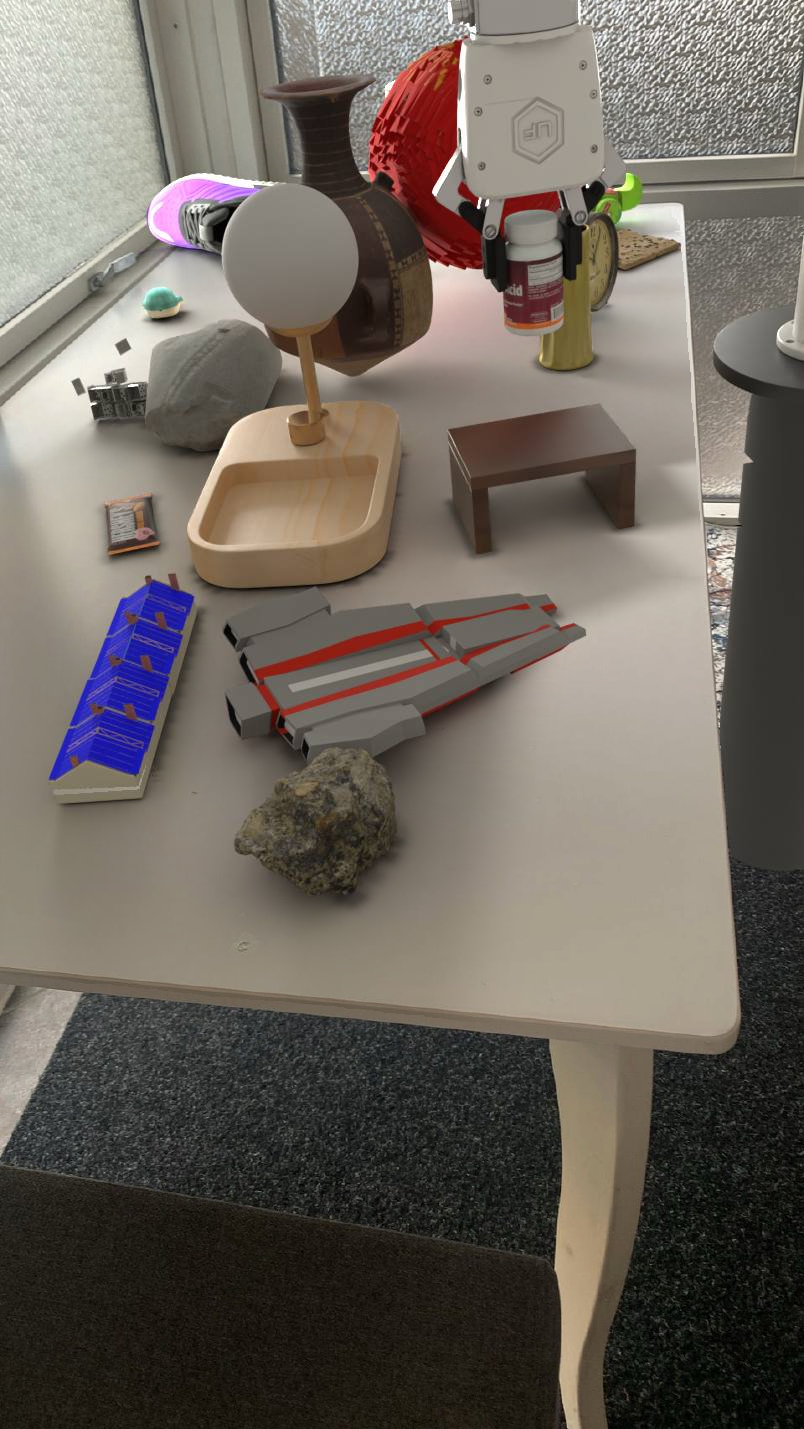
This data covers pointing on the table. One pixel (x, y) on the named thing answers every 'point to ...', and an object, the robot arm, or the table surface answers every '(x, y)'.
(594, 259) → the alarm clock
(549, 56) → the robot arm
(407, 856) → the table surface
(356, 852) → the rock
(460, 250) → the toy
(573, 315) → the vase
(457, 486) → the shelf
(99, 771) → the building
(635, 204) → the toy crocodile
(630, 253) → the cookie
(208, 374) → the stone
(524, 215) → the pill bottle
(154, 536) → the chocolate bar
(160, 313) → the whale figurine
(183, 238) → the running shoe
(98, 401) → the house of cards
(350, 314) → the vase
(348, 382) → the table surface
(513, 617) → the toy spaceship
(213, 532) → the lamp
